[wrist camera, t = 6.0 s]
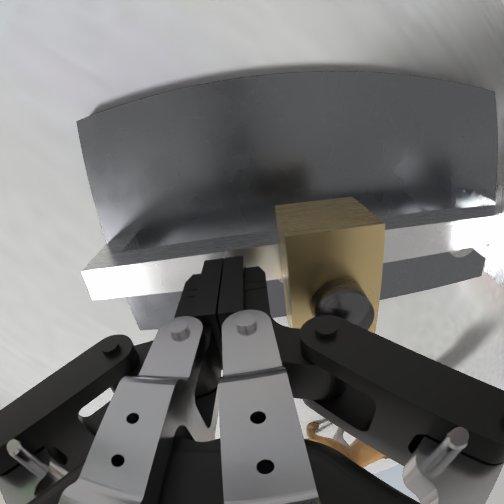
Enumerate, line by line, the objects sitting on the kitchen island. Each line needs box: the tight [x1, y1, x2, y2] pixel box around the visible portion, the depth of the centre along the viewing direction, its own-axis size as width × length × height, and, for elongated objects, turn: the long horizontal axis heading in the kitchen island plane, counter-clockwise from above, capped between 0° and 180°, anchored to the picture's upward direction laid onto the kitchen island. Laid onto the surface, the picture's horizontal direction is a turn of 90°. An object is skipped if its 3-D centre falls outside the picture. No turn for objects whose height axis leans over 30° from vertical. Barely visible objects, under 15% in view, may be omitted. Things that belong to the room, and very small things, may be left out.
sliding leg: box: [275, 197, 385, 333], centre depth 12 cm, size 5×3×8 cm, turn 8°
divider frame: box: [81, 185, 504, 300], centre depth 12 cm, size 5×25×8 cm, turn 98°
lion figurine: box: [306, 423, 389, 468], centre depth 21 cm, size 15×5×9 cm, turn 132°
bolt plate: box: [77, 71, 498, 330], centre depth 15 cm, size 14×26×1 cm, turn 98°
